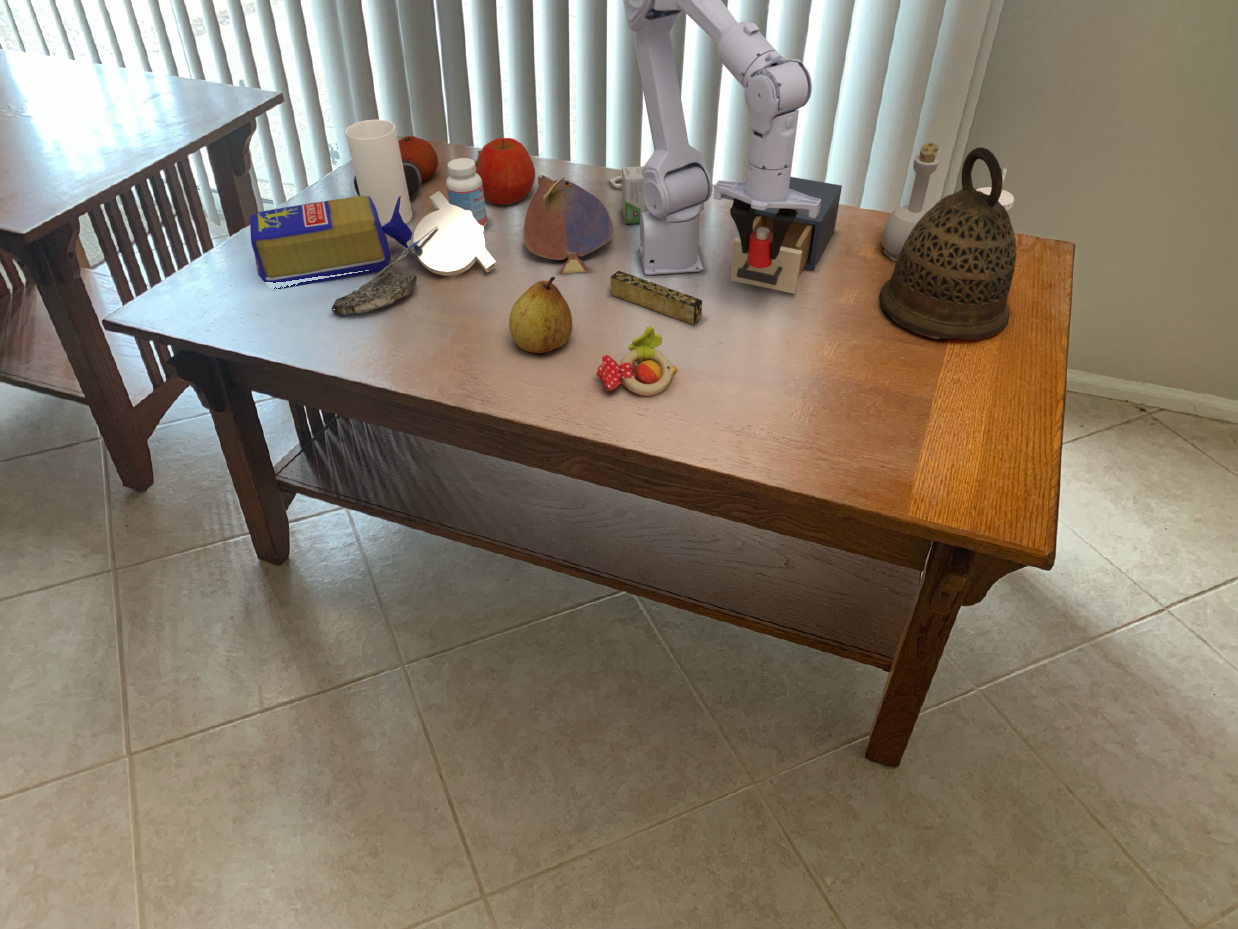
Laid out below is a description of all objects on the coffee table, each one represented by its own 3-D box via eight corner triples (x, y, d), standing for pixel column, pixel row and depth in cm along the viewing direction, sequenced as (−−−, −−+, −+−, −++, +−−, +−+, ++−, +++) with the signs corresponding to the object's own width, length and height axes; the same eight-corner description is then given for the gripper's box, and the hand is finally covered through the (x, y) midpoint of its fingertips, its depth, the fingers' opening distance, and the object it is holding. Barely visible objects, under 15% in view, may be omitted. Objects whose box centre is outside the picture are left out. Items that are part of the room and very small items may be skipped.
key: (605, 182, 161) (613, 173, 164) (606, 187, 161) (613, 178, 164) (666, 192, 158) (673, 182, 160) (666, 197, 158) (673, 187, 161)
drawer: (786, 308, 129) (792, 268, 124) (721, 293, 132) (724, 254, 128) (815, 255, 140) (821, 217, 136) (754, 243, 143) (758, 205, 139)
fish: (514, 152, 139) (606, 144, 140) (520, 200, 151) (605, 192, 152) (524, 255, 133) (621, 246, 134) (530, 297, 145) (618, 289, 146)
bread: (262, 265, 143) (241, 207, 135) (411, 239, 148) (399, 182, 141) (263, 297, 136) (242, 238, 128) (420, 269, 141) (408, 211, 134)
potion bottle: (941, 251, 142) (970, 144, 130) (914, 272, 138) (941, 163, 125) (894, 234, 147) (918, 129, 134) (866, 253, 142) (888, 147, 130)
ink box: (622, 212, 154) (686, 207, 155) (625, 225, 151) (691, 220, 151) (621, 166, 148) (688, 161, 149) (624, 178, 145) (693, 174, 146)
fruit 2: (502, 338, 126) (492, 267, 117) (557, 319, 129) (551, 248, 121) (527, 370, 121) (519, 298, 112) (584, 349, 124) (580, 278, 115)
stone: (325, 302, 131) (332, 318, 133) (359, 314, 126) (367, 331, 128) (392, 256, 138) (398, 272, 140) (427, 266, 133) (433, 283, 135)
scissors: (381, 275, 130) (377, 271, 129) (362, 293, 136) (358, 289, 136) (440, 228, 137) (436, 223, 137) (419, 247, 144) (415, 243, 143)
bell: (973, 388, 129) (1024, 285, 134) (1030, 294, 105) (1088, 173, 110) (856, 339, 134) (909, 242, 139) (885, 238, 110) (948, 126, 115)
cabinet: (813, 270, 138) (821, 221, 133) (744, 256, 142) (749, 208, 136) (834, 232, 147) (842, 185, 141) (768, 220, 151) (774, 173, 145)
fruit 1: (387, 188, 163) (378, 146, 157) (403, 167, 169) (395, 127, 164) (431, 190, 162) (424, 149, 156) (446, 170, 168) (439, 129, 162)
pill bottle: (486, 232, 149) (477, 170, 142) (451, 233, 149) (440, 171, 142) (489, 216, 154) (481, 155, 146) (455, 217, 154) (445, 156, 146)
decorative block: (702, 318, 129) (703, 298, 127) (693, 326, 128) (694, 306, 125) (618, 288, 136) (618, 268, 133) (609, 295, 134) (609, 275, 132)
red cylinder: (749, 269, 122) (752, 237, 119) (744, 256, 125) (747, 224, 121) (774, 267, 122) (778, 235, 119) (769, 254, 125) (772, 223, 121)
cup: (422, 213, 155) (405, 125, 144) (390, 233, 150) (370, 142, 139) (388, 203, 158) (369, 115, 147) (356, 221, 153) (334, 132, 142)
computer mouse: (348, 167, 155) (348, 175, 152) (415, 153, 156) (417, 160, 153) (361, 205, 159) (361, 212, 156) (426, 190, 161) (427, 198, 157)
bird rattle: (694, 349, 116) (642, 312, 118) (645, 394, 110) (591, 354, 112) (683, 379, 121) (633, 343, 123) (636, 423, 115) (584, 385, 117)
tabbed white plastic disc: (508, 253, 138) (453, 280, 133) (496, 280, 145) (443, 307, 139) (452, 182, 139) (395, 206, 134) (442, 212, 146) (387, 236, 140)
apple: (534, 210, 155) (529, 152, 148) (474, 210, 155) (466, 153, 148) (539, 183, 163) (534, 127, 155) (482, 183, 163) (474, 128, 156)
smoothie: (999, 262, 139) (1026, 179, 130) (958, 258, 140) (981, 176, 131) (995, 242, 144) (1020, 162, 134) (955, 239, 145) (977, 159, 135)
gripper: (708, 163, 113) (702, 255, 122) (816, 183, 108) (801, 277, 118) (726, 142, 117) (719, 233, 127) (830, 160, 113) (815, 253, 122)
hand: (760, 252), depth 123 cm, fingers closed on red cylinder, 3 cm apart
